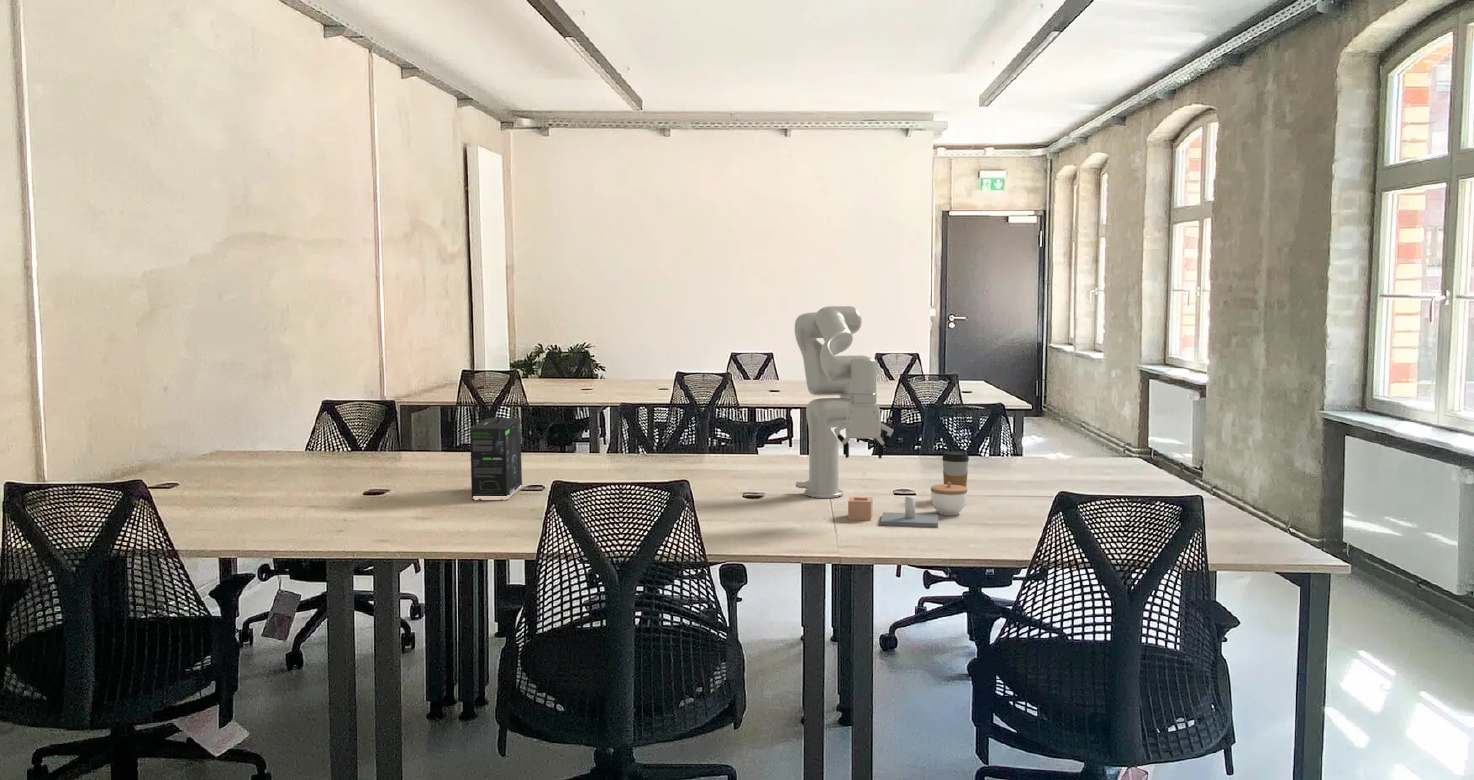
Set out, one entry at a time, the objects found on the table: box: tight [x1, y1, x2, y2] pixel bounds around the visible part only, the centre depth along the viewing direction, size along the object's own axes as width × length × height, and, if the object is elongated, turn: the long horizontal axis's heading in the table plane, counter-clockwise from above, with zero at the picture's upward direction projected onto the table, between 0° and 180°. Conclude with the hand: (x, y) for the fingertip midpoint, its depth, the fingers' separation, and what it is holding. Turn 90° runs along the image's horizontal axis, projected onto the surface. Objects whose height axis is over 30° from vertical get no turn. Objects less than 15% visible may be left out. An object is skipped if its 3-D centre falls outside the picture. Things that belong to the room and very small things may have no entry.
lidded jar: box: [930, 482, 968, 516], centre depth 316 cm, size 11×11×9 cm
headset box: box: [469, 415, 523, 497], centre depth 347 cm, size 22×12×26 cm, turn 179°
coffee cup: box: [941, 450, 970, 488], centre depth 336 cm, size 8×8×15 cm
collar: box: [847, 496, 874, 521], centre depth 310 cm, size 7×7×6 cm
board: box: [880, 495, 939, 528], centre depth 305 cm, size 16×12×7 cm
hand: (863, 457), depth 310 cm, fingers open, 9 cm apart
